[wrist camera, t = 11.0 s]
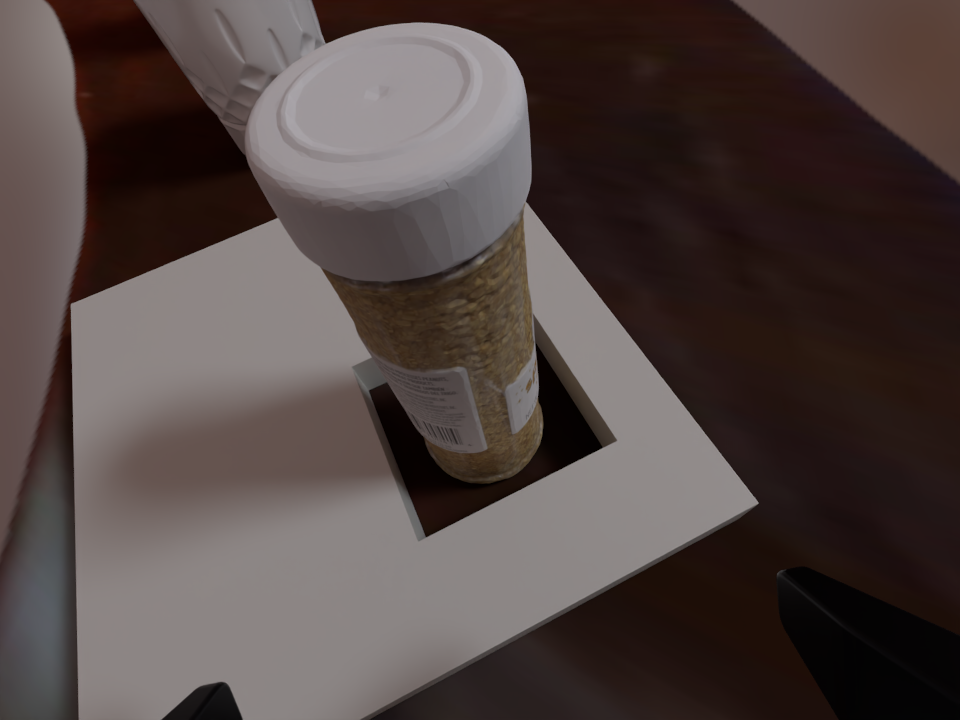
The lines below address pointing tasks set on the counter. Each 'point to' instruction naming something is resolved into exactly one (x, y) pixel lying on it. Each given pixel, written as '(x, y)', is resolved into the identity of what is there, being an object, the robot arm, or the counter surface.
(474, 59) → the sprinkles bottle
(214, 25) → the white cup
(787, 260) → the counter surface
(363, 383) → the block
